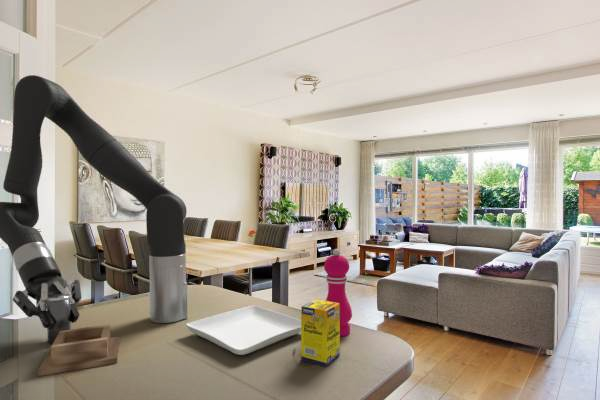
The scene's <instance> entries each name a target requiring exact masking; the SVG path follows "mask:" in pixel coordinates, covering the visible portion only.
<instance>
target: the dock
mask: <svg viewBox="0 0 600 400" xmlns="http://www.w3.org/2000/svg"><path fill="white" fill-rule="evenodd" d="M119 346H120V336H115V337H111V324H110V323H109V324H103V325H94V326H87V327H79V328H73V329H72V328H71V330H63V331H60V332H59V334H58V335H57V337H56V339H55V341H54V343H53V344H51V347H50V348H49V350H48V352H47V354H46V356H45V357H44V359H43V360H42V363H41V364H40V366H39V368H38V370H37V376H38V377H43V376H47V375H54V374H55V375H56V374H60V373H64V372H72V371H77V370H83V369H87V368H88V369H89V368H94V367H101V366H105V365H106V366H107V365H113V364H118V358H119V350H120V349H119V348H120V347H119Z"/></svg>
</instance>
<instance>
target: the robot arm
mask: <svg viewBox="0 0 600 400" xmlns="http://www.w3.org/2000/svg"><path fill="white" fill-rule="evenodd" d="M13 95H14V96H13V115H12V116H13V117H12V118H13V119H12V136H11V137H12V138H11V148H10V155H9V159H8V162H7V167H6V170H5V175H4V180H3V185H2V187H3V188H2V189H3V190H4V191H5V192H7V193H10V194H12V195H15V196H19V198H20V202H13V201H11V202H9V201H0V239H1V240H2V242H4V243H5V244H6V246H7V247H8V249H9V252H10V254H11V256H12V258H13V264H14V265H15V270H16V271H17V272H18V275H19V277H20V279H21V282H22V284H23V287H24V288H25V289H24V290H17V291H15V294H14V295H13V298H12V302H14V304H16V305H17V307H18V308H19V309H20V310H21V311H22V312H23V313H24V314H25V315H26V316H27V317H28V318H32V317H33V316H34V317H38V318H39V320H40V322H41V324H42V327H43V328H44V329H48V330H50V329H52V328H53V326H54V321H53V319H52V317H51V314H50V312H49V310H48V311H47V297H49V296H52V295H57V294H70V306H71V324H74V323H76V322H77V321H78V320H79V317H80V312H79V311H78V308H77V306H78V304H79V303H80V301H81V299H82V291H81V290H82V289H81V282H80V280H79V279H74V280H73V281H67V280H66V279H64V278H63V276H62V272H61V270H60V268H59V266H58V264H57V262H56V260H55V258H54V256H53V254H52V252H51V250H50V249H49V248H48V246H47V244H46V242H45V240H44V238H43V236H42V234H41V232H40V231H39V230H38V229H36V228H35V226H36V224H37V223H38V221H39V218H40V210H39V204H38V203H39V201H38V187H39V183H40V178H41V174H42V170H43V169H42V168H43V154H42V153H43V152H42V145H41V133H42V126H43V123H44V120H45V118H46V119H48V120H49V121H51V123H54V124H55V125H56V126H58V127H59V128H60V129H61V130H62V131H64V133H66V134H67V136H68V137H70V139H71V141H72V142H73V144H74V146H75V148H76V149H77V150H78V151H79V153H80V155H81V156H82V158H83V159H84V160H85V161H86V162H87V163H88V164H89V165H90V166H91V167H92V168H94V170H95V171H97V172H98V173H99V174H100V175H101V176H103V177H104V178H105V179H107V180H108V181H110V182H111V183H112V184H114V185H115V186H117V187H118V188H120V189H122V190H124V191H125V192H127V193H128V194H130V195H131V196H133V197H134V198H135V199H136V200H138V202H139V203H141V205H142V206H143V207H144V208H145V209H146V213H145V214H146V215H145V217H146V219H145V221H146V222H145V223H146V242H147V247H148V251H149V253H148V254H149V256H148V257H149V260H148V261H149V263H148V264H149V266H148V267H149V320H150V322H151V323H156V324H169V323H174V322H178V321H182V320H185V319H188V282H187V262H186V261H187V258H186V257H187V255H186V252H187V251H186V250H187V249H186V248H187V247H186V241H185V234H184V233H185V226H184V225H185V224H184V223H185V219H186V216H187V212H188V211H187V207H186V206H187V205H186V204H185V201H184V200H183V199H182V198H180V197H179V196H178V195H177V194H175V193H173V192H172V191H171V190H170V189H168V188H167V187H165V186H164V185H163V184H162V183H161V182H159V181H158V180H157V179H156V178H155V177H154V176H152V174H151V173H150V172H149V171H148V170H147V168H145V166H144V165H143V164H142V163H141V162H139V160H138V159H137V158H136V157H135V156H134V155H133V154H132V153H131V151H129V150H128V149H127V148H126V147H125V146H124V145H123V144H122V143H121V142H120V141H118V139H116V137H114V136H113V135H112V134H110V132H108V131H107V130H106V129H105V128H104V127H102V126H101V125H100V124H99V123H98V122H96V121H95V120H94V119H93V118H91V117H90V116H89V115H88V114H87V113H86V112H85V111H84V110H83V109H82V107H80V105H79V104H78V103H77V102H76V101H75V100H74V99H73V97H72V96H71V95H70V94H69V93H68V91H66V89H65V88H64V87H62V86H61V85H60V84H58V83H56V82H54V81H52V80H50V79H47V78H44V77H42V76H39V75H35V74H34V75H26V76H24V77H22V78H20V79H19V80H18V82H17V83H16V85H15V89H14V94H13ZM66 288H67V289H68V290H67V289H66ZM69 292H70V293H69ZM30 298H32V299H34V300H35V301H36V302H35V304H34V303H33V302H32V301H31V299H30Z"/></svg>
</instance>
